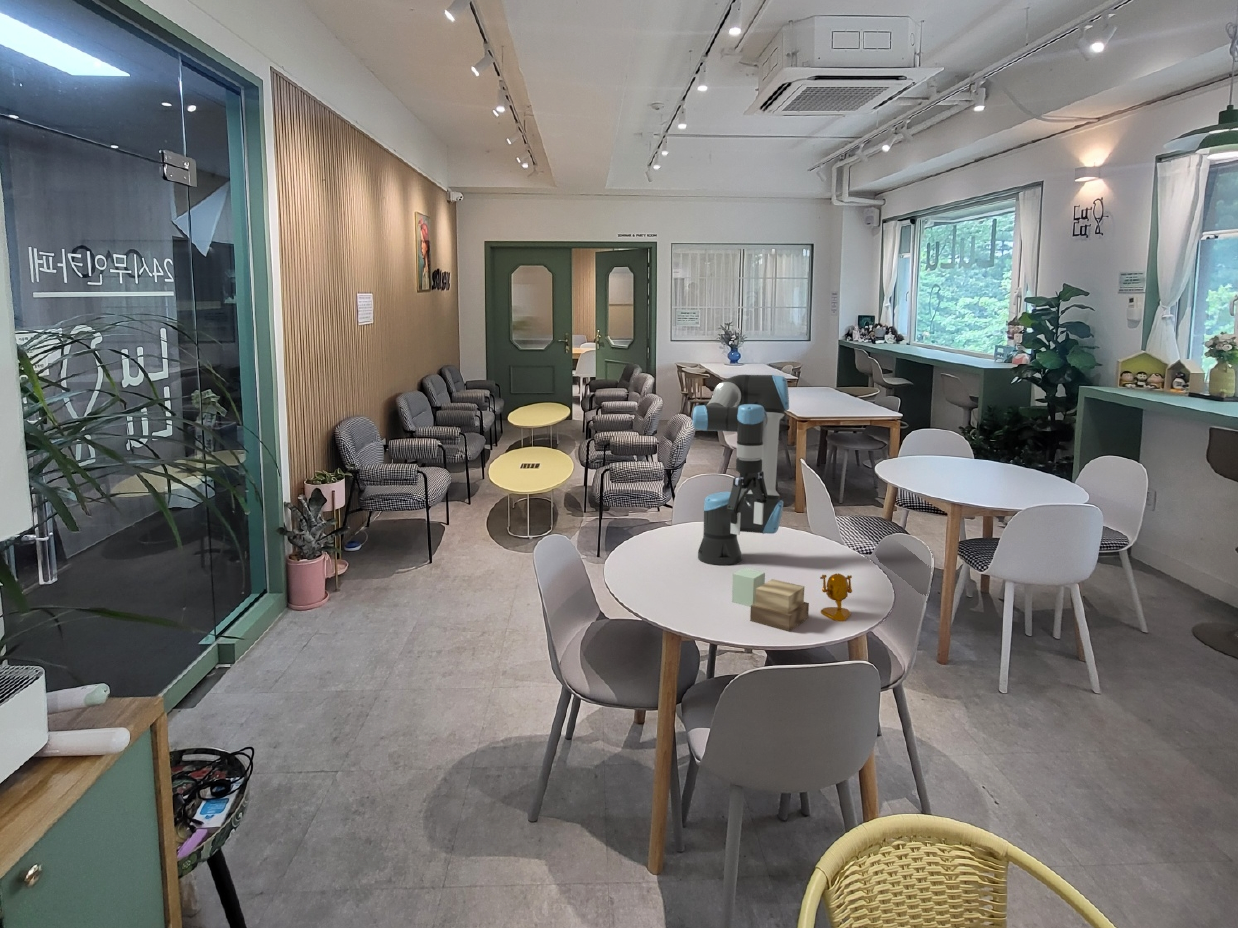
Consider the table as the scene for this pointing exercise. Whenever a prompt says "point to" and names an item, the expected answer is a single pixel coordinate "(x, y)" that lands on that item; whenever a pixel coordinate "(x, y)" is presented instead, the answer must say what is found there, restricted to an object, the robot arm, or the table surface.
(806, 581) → the table surface
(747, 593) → the sage block
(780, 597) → the oak slab
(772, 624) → the walnut slab
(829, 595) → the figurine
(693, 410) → the robot arm
